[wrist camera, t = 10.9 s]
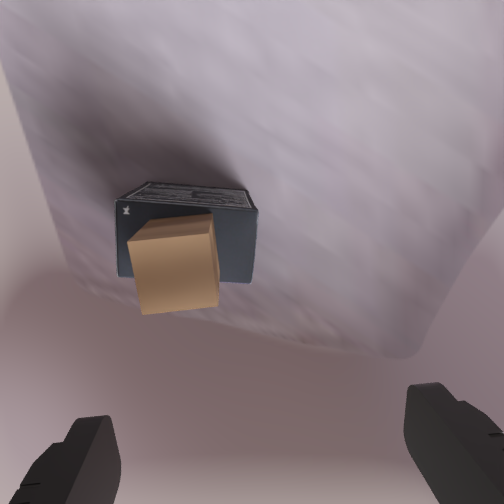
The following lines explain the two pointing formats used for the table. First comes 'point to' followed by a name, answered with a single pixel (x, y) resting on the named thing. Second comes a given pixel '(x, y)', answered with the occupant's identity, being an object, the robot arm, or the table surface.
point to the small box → (185, 204)
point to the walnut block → (176, 264)
